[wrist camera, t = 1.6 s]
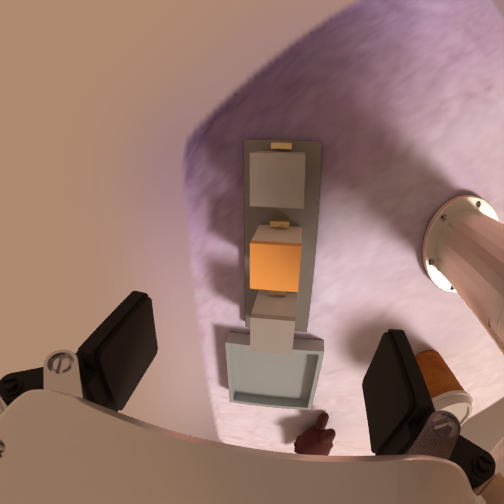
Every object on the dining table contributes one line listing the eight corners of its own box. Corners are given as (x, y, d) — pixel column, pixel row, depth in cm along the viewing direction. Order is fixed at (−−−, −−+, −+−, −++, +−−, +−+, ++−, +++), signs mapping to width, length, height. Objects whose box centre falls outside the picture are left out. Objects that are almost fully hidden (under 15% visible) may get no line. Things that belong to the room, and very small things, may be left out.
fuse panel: (321, 142, 28) (322, 141, 25) (306, 327, 36) (306, 339, 34) (245, 139, 29) (240, 139, 27) (246, 322, 38) (243, 333, 35)
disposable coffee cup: (384, 371, 37) (397, 434, 26) (431, 331, 34) (460, 391, 23) (415, 392, 38) (429, 447, 27) (458, 357, 34) (483, 410, 23)
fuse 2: (297, 292, 34) (295, 321, 28) (294, 323, 35) (291, 354, 30) (258, 289, 34) (250, 317, 29) (258, 320, 36) (250, 350, 30)
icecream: (320, 474, 42) (354, 435, 37) (285, 477, 41) (314, 439, 36) (312, 449, 48) (342, 406, 44) (279, 450, 47) (305, 408, 42)
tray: (323, 340, 37) (324, 351, 34) (311, 399, 42) (310, 410, 39) (229, 331, 39) (225, 342, 37) (233, 391, 44) (229, 401, 41)
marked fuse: (301, 227, 31) (301, 246, 25) (299, 266, 32) (298, 292, 27) (259, 224, 31) (249, 243, 26) (259, 263, 33) (249, 288, 28)
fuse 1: (304, 152, 28) (305, 154, 22) (303, 196, 29) (303, 208, 24) (259, 150, 28) (249, 152, 23) (259, 194, 30) (249, 206, 25)
